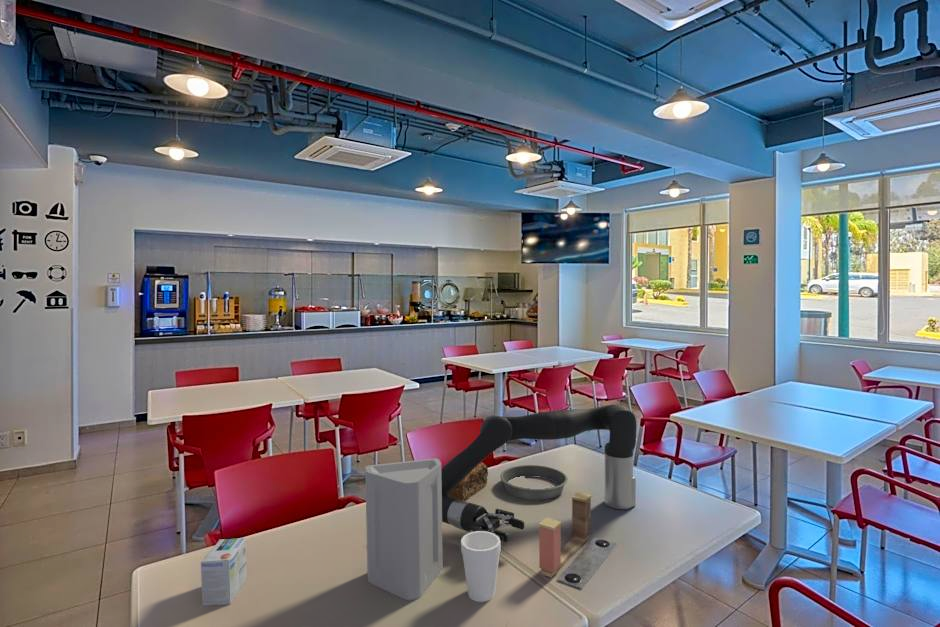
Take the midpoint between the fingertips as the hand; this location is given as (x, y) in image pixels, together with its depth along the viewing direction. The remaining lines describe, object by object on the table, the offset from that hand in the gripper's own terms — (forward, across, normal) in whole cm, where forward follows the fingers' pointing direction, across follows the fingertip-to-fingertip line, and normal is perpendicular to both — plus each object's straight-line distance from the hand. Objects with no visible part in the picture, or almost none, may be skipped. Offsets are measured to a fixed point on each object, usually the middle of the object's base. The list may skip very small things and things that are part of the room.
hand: (515, 531), depth 131 cm
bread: (-38, +29, +8) cm, 49 cm away
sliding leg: (+10, 0, +6) cm, 12 cm away
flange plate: (+16, +10, +8) cm, 21 cm away
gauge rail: (+10, +10, +8) cm, 17 cm away
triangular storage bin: (-17, -24, +8) cm, 30 cm away
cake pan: (-19, +46, +8) cm, 51 cm away
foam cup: (0, -18, +8) cm, 19 cm away
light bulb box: (-51, -52, +8) cm, 73 cm away
